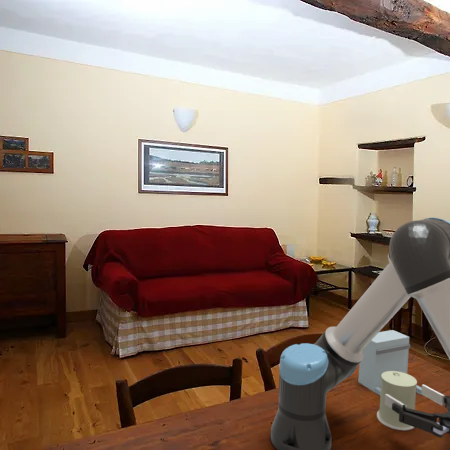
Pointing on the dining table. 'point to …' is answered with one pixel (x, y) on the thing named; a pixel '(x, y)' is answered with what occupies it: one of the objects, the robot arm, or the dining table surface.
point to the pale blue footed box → (384, 359)
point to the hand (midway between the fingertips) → (404, 393)
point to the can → (397, 395)
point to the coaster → (392, 425)
